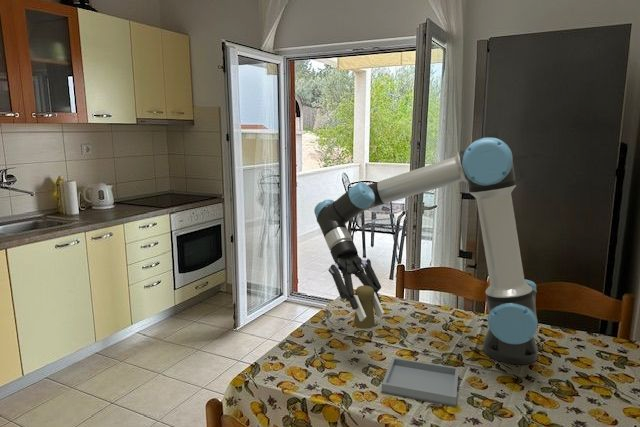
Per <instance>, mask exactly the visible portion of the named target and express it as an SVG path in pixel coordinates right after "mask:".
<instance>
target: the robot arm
mask: <svg viewBox="0 0 640 427" xmlns="http://www.w3.org/2000/svg"><path fill="white" fill-rule="evenodd" d="M513 158H514V156H513V152H512V150H511V148H510V147H509V145H508V144H507V143H506V142H505V141H504V140H501V139H499V138H496V137H491V136H490V137H489V136H488V137H482V138H479V139H477V140H475V141H473V142H472V143H470V145H469V146H467V148H466V149H464V150H461V151H458V152H457V154H456V156H454V157H449V158H447V159H444V160H440V161H437V162H434V163H432V164H429V165H424V166H423V167H419V168H416V169H412V170H410V171H407V172H403V173H401V174H398V175H397V174H396V175H394V176H392V177H388V178H385V179H382V180H379V181H375V182H373V183H369V184H367V183H364V182H362V181H361V182H357V183H356V184H355V185H353V186H351V187H350V188H349V189H348V190H347V191H346V192H344V193H343V194H342V195H341V196H340V197H338V198H337V199H336V200H333V199H325V200H323V201H320V202H318V203H317V204H316V205H315V207H314V215H315V218H316V222H317V224H318V226H319V229H320V230H321V233H322V235H323V237H324V240H325V243H326V244H327V247H328V249H329V251H330V254H331V257H332V260H333V261H334V264H333V263H332V264H331V265H330V266H329V268H328V270H327V271H328V272H329V274H330V275H331V276H332V278H333V281H334V284H335V286H336V288H337V291H338V295H339V296H340V298H341V300H344V299H345V300H346V302H349V305H350V306H351V309H352V310H353V311H356V313H357V315H358V318H359V320H360V321H363V320H364V319H365V318H366V314H365V312H364V310H363V307H362V305H361V303H360V300H359V298H358V296H357V295H356V294H355V291H354V285H353V280H352V275H354V277H356V278H357V279H358V280H359V281H360V283H361V284H362V286H370V287H372V288H373V290H374V297H373V298H372V303H373V311H374V313H375V314H376V317H377V318H381V317H382V315H384V314H385V311H384V309H383V306H382V305H381V303H382V300H381V297H380V295H379V293H378V292H379V291H380V290H381V289H382V285H381V283H380V281H379V279H378V276H377V275H376V272H375V270H374V269H373V267H372V261H371V259H370V258H367V259H366V260H364V259H362V258H361V257H360V256H359V254H358V253H359V252H358V249H357V247H356V245H355V243H354V241H353V238H352V235H351V234H350V232H349V229H348V228H347V227H348V226H347V223H348V222H350V221H351V220H352V219H354V218H356V216H358V215H360V214H361V213H362V212H365V211H367V210H370V209H373V208H375V207H378V206H383V205H386V204H390V203H392V202H395V201H399V200H402V199H405V198H409V197H412V196H416V195H419V194H423V193H426V192H427V193H428V192H430V191H433V190H436V189H440V188H443V187H447V186H450V185H454V184H457V183H460V182H465V183H467V186H468V187H467V188H468V191H469V194H470V195H471V196H473V197H474V198H475V199H476V204H477V210H478V216H479V224H480V231H481V236H482V242H483V247H484V248H483V249H484V255H485V259H486V267H487V273H488V279H489V286H488V287H487V288H486V289H485V297H486V304H487V310H488V316H487V324H488V327H489V328H488V330H487V333H486V335H485V337H484V339H483V342H482V344H483V345H482V350H483V352H484V353H485V354H486V355H487V356H488V357H490V358H492V359H494V360H496V361H499V362H503V363H504V364H505V363H506V364H510V365H529V364H532V363H535V362H536V361H537V360H538V353H539V352H538V351H539V350H538V346H537V343H536V339H535V338H536V337H535V335H536V334H537V330H538V327H539V320H538V318H537V307H536V294H537V284H536V283H535V282H534V281H532V280H531V279H530V280H529V279H525V274H524V269H523V263H522V257H521V249H520V243H519V238H518V231H517V230H518V229H517V224H516V222H517V221H516V217H515V210H514V205H513V204H514V203H513V198H512V192H513V191H514V189H515V188H516V187H517V182H516V176H515V168H514V162H513ZM340 272H341V273H340ZM343 279H344V280H343Z"/></svg>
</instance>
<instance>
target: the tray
mask: <svg viewBox="0 0 640 427" xmlns="http://www.w3.org/2000/svg"><path fill="white" fill-rule="evenodd" d="M459 370H460V368H459V367H457V366H456V367H455V366H452V365H451V366H450V365H443V364H438V363H434V362H433V363H432V362H425V361H419V360H413V359H407V358H401V357H395V356H392V357H391V359H390V362H389V366H388V367H387V370H386V372H385V374H384V377H383V380H382V382H381V394H385V395H391V396H394V397H395V396H396V397H401V398H405V399H406V398H407V399H412V400H417V401H423V402H428V403H433V404H439V405H443V406H447V407H448V406H449V407H453V408H456V407H457V397H458V384H459Z"/></svg>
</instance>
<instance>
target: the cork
mask: <svg viewBox="0 0 640 427" xmlns="http://www.w3.org/2000/svg"><path fill="white" fill-rule="evenodd" d="M356 295H357V296H358V298H359V300H360V303H361V305H362V307H363V310H364V312H365V314H366V318H365V319H364V320H363V321H360V320H359V318H358V315H357V313H356V311H355V310H354V311H355V313H354V317H353V318H354V319H353V325H354V327H356V328H357V329H362V330H368V329H373V328H375V326H376V321H375V310H374V308H373V303H372V298H373V297H374V290H373V288H372V287H370V286H364V285H359V286H357V287H356V289H355V296H356Z"/></svg>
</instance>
